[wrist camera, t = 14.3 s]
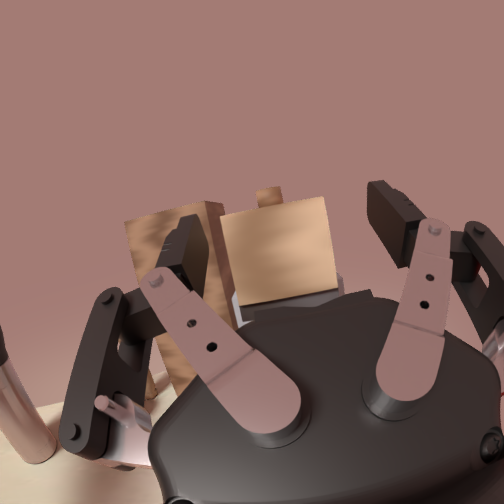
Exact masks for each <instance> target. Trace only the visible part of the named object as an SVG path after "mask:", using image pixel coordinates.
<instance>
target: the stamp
mask: <svg viewBox="0 0 504 504" xmlns="http://www.w3.org/2000/svg"><path fill="white" fill-rule="evenodd" d="M256 196H257V201H258V206H259V208H257V209H252V210H248V211H243V212H238V213H234V214H228V215H224V216H220V220H221V225H222V230H223V235H224V239H225V244H226V249H227V253H228V258H229V263H230V267H231V272H232V276H233V281H234V285H235V290H236V294H237V299H238V303H239V308H240V313H241V317H242V321H243V322H247V321H253V320H255V319H254V311H258V310H264V309H271V308H277V307H282V306H289V307H316V306H319V305H321V304H324V303H326V302H328V301H330V300H333V299H335V298H337V297H339V289H338V283H337V275H336V268H335V261H334V254H333V248H332V242H331V236H330V229H329V224H328V218H327V213H326V207H325V202H324V197H323V196H322V197H317V198H311V199H305V200H299V201H294V202H289V203H283V198H282V194H281V189H280V187H271V188H266V189H261V190H258V191H256Z"/></svg>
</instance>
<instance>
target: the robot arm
mask: <svg viewBox="0 0 504 504" xmlns="http://www.w3.org/2000/svg"><path fill="white" fill-rule="evenodd" d="M367 216H368V220H369V223H370V224H371V226H372V227H373V229H374V231H375V232H376V234H377V235H378V237H379V238H380V240H381V241H382V243H383V244H384V246H385V248H386V249H387V251H388V253H389V254H390V256H391V258H392V259H393V261H394V262H395V264H396V266H397V268H398V269H399V268H403V267H408V268H409V272H408V275H407V279H406V283H405V286H404V290H403V293H402V297H401V300H400V303H398V302H396V301H394V300H390V299H386V298H378V297H373V295H372V292H371V290H370V289H368V290H364V291H359V292H355V293H350V294H345V295H342V296H340V297H337V298H335V299H333V300H330V301H328V302H326V303H324V304H321V305H319V306H316V307H289V306H282V307H277V308H271V309H264V310H258V311H254V319H255V320H253V321H251V322H249V323H247V324H245V325H243V326H241V327H240V328H238V329H237V330H235V331H234V330H233V329H232V328H231V327H230V326H229V325H228V324H227V323H226V322H225V321H224V320H223V319H222V318H221V317H220V316H219V315H218V314H217V313H216V312H215V311H214V310H213V309H212V308H211V307H210V306H209V305H208V304H207V303H206V302H205V301H204V300H203V295H204V287H205V280H206V273H207V265H208V259H209V245H208V241H207V238H206V235H205V233H204V230H203V227H202V225H201V222H200V219H199V217H198V215H197V214H192V215H187V216H183V217H181V218H180V220H179V223H178V226H177V228H176V229H172V231H171V232H170V233H169V234H168V235H167V236H166V238H165V241H164V244H163V246H162V249H161V252H160V255H159V257H158V260H157V263H156V266H155V269H153V270H151V271H149V272H148V273H147V274H145V275H144V277H143V278H142V279H141V281H140V287H139V288H137V289H136V290H133V291H131V292H128V293H126V294H123V292H122V291H121V289H120V288H117V287H112V288H109V289H107V290H105V291H103V292H102V293H101V294H100V295H99V296H98V297H97V299H96V301H95V303H94V306H93V308H92V311H91V314H90V316H89V319H88V322H87V325H86V328H85V331H84V334H83V337H82V340H81V343H80V346H79V349H78V352H77V356H76V359H75V362H74V366H73V370H72V373H71V377H70V381H69V385H68V389H67V393H66V397H65V401H64V406H63V411H62V416H61V421H60V427H59V439H60V442H61V445H62V446H63V448H64V449H65V450H67V451H68V452H70V453H73V454H75V455H78V456H80V457H83V458H85V459H88V460H91V461H93V462H96V463H99V464H102V465H105V466H108V467H111V468H114V469H118V470H121V471H131V470H133V469H135V468H136V467H139V468H147V469H153V470H154V472H155V474H156V477H157V479H158V482H159V485H160V488H161V492H162V496H163V504H504V436H503V433H502V429H501V421H500V400H501V397H502V396H504V246H503V245H502V244H501V242H500V241H499V240H498V239H497V237H496V236H495V235H494V234H493V233H492V232H491V230H490V229H489V228H488V227H487V226H485V225H484V224H482V223H480V222H476V221H469V222H467V223H466V225H465V228H464V232H459V231H450V228H449V227H448V225H447V224H445V223H444V222H442V221H440V220H438V219H433V218H427V217H426V216H425V215H424V214H423V213H422V212H421V211H420V210H419V209H418V208H417V207H416V206H415V205H414V204H413V202H411V201H410V200H409V198H408V197H407V196H406V195H405V194H404V193H402V192H400V191H398V190H396V189H392V188H391V187H390V186H389V185H388V184H387V183H386V182H385V181H384V180H379V181H372V182H369V183H368V186H367ZM481 266H482V267H483V268H484V270H485V272H486V273H487V275H488V278H489V287H488V288H487V287H486V285H485V283H484V282H483V280H482V278H481V277H480V275H479V274H478V272H479V270H480V267H481ZM451 283H452V284H453V286H454V288H455V290H456V291H457V293H458V295H459V297H460V299H461V301H462V303H463V304H464V306H465V308H466V310H467V312H468V314H469V316H470V318H471V320H472V322H473V324H474V327H475V328H476V331H477V333H478V335H479V337H480V339H481V342H482V344H483V348H482V353H481V352H480V351H478V350H476V349H475V348H473V347H472V346H470V345H469V344H467V343H465V342H464V341H462V340H461V339H459V338H457V337H456V336H454V335H452V334H451V333H449V332H448V331H446V330H445V329H444V328H445V324H446V317H447V311H448V304H449V296H450V288H451ZM166 332H168V334H169V335H170V337H171V338H172V339H173V341H174V342H175V344H176V345H177V347H178V348H179V349H180V351H181V352H182V354H183V355H184V356H185V358H186V359H187V360H188V362H189V363H190V364H191V366H192V367H193V368H194V370H195V371H196V372H197V375H196V376H195V378H194V379H193V380H192V381H191V382H190V384H189V385H188V386H187V387H186V388H185V389H184V391H183V392H182V393H181V394H180V395H179V396H178V398H177V399H176V400H175V401H174V402H173V403H172V405H171V406H170V407H169V408H168V409H167V410H166V412H165V413H164V414H163V415H162V416H161V417H160V418H159V420H158V421H157V422H156V423H155V425H154V426H153V427H152V424H151V417H150V414H149V413H148V411H147V410H146V409H144V400H145V391H146V383H147V375H148V368H149V360H150V354H151V347H152V341H153V338H154V337H156V336H159V335H161V334H164V333H166ZM119 339H120V340H121V342H120V346H119V350H117V345H118V341H119ZM0 429H1V431H2V432H3V434H4V435H5V436H6V438H7V439H8V441H9V442H10V443H11V445H12V446H13V447H14V449H15V450H16V451H17V453H18V454H19V455H20V456H21V458H22V459H23V460H24V461H26V462H28V463H32V464H35V463H40V462H43V461H45V460H47V459H48V458H49V457H50V456H51V455H52V454H53V453H54V452H55V449H56V446H57V442H56V439H55V438H54V436H53V435H52V433H51V432H50V430H49V429H48V428H47V426H46V424H45V423H44V421H43V420H42V418H41V417H40V415H39V413H38V412H37V410H36V408H35V407H34V405H33V403H32V402H31V400H30V398H29V396H28V394H27V393H26V391H25V389H24V387H23V385H22V383H21V381H20V379H19V377H18V375H17V373H16V371H15V369H14V367H13V365H12V363H11V360H10V358H9V356H8V354H7V351H6V349H5V343H4V337H3V332H2V329H1V326H0Z"/></svg>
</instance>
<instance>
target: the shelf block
mask: <svg viewBox="0 0 504 504" xmlns="http://www.w3.org/2000/svg"><path fill="white" fill-rule="evenodd" d="M192 214H197V215H198V217H199V219H200V222H201V225H202V227H203V230H204V233H205V235H206V238H207V241H208V245H209V259H208V265H207V273H206V280H205V287H204V295H203V300H204V301H205V302H206V303H207V304H208V305H209V306H210V307H211V308H212V309H213V310H214V311H215V312H216V313H217V314H218V315H219V316H220V317H221V318H222V319H223V320H224V321H225V322H226V323H227V324H228V325H229V326H230V327H231V328H232V329H233V330H234V331H235V330H237V329H238V324H237V320H236V316H235V311H234V307H233V303H232V297H233V295H234V293H235V291H236V290H235V285H234V281H233V276H232V272H231V267H230V263H229V258H228V253H227V249H226V244H225V239H224V235H223V230H222V225H221V220H220V216H224V215H225V211H224V207H223V204H222V203H216V202H208V201H201V202H198V203H193V204H190V205H185V206H181V207H178V208H174V209H170V210H166V211H162V212H159V213H154V214H151V215H147V216H144V217H140V218H136V219H133V220H130V221H126V222H124V223H125V228H126V233H127V238H128V243H129V247H130V252H131V256H132V260H133V264H134V268H135V272H136V276H137V280H138V284H139V287H140V281H141V279H142V278H143V277H144V275H145V274H147V273H148V272H149V271H151V270H153V269H155V266H156V263H157V260H158V257H159V255H160V252H161V249H162V246H163V244H164V241H165V238H166V236H167V235H168V234H169V233H170V232H171V231H172V229H176V228H177V226H178V223H179V220H180V218H181V217H183V216H187V215H192ZM155 339H156V342H157V345H158V348H159V351H160V353H161V356H162V359H163V361H164V364H165V367H166V369H167V372H168V374H169V377H170V379H171V382H172V384H173V387H174V389H175V392H176V394H177V396H179V395H180V394H181V393H182V392H183V391H184V389H185V388H186V387H187V386H188V385H189V384H190V382H191V381H192V380H193V379H194V378H195V376H196V375H197V372H196V371H195V370H194V368H193V367H192V366H191V364H190V363H189V362H188V360H187V359H186V358H185V356H184V355H183V354H182V352H181V351H180V349H179V348H178V347H177V345H176V344H175V342H174V341H173V339H172V338H171V337H170V335H169V334H168V332H166V333H164V334H161V335H159V336H156V337H155Z"/></svg>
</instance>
